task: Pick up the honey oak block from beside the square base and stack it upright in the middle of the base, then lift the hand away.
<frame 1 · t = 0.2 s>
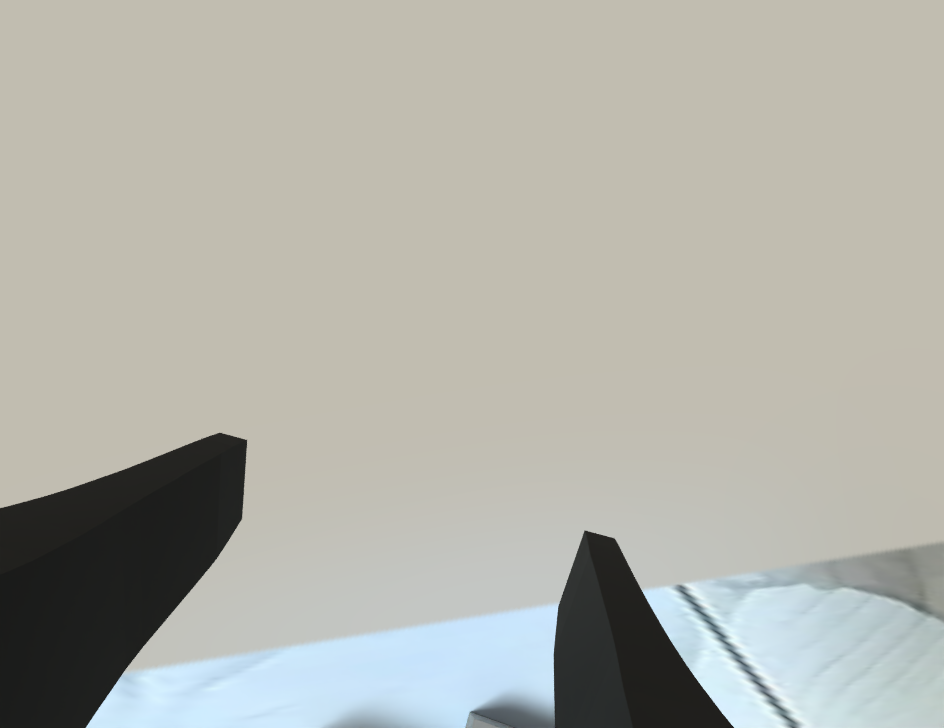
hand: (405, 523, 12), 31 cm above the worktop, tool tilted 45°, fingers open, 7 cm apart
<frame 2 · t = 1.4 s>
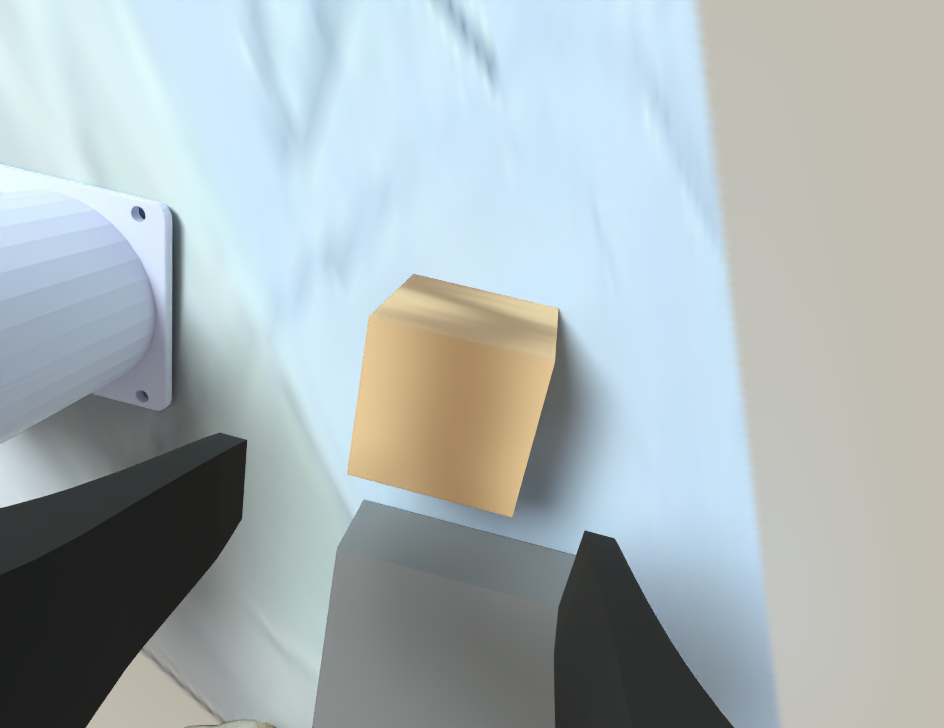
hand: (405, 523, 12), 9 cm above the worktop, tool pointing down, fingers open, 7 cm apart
oak block: (471, 357, 21), on the worktop
base: (461, 624, 26), on the worktop
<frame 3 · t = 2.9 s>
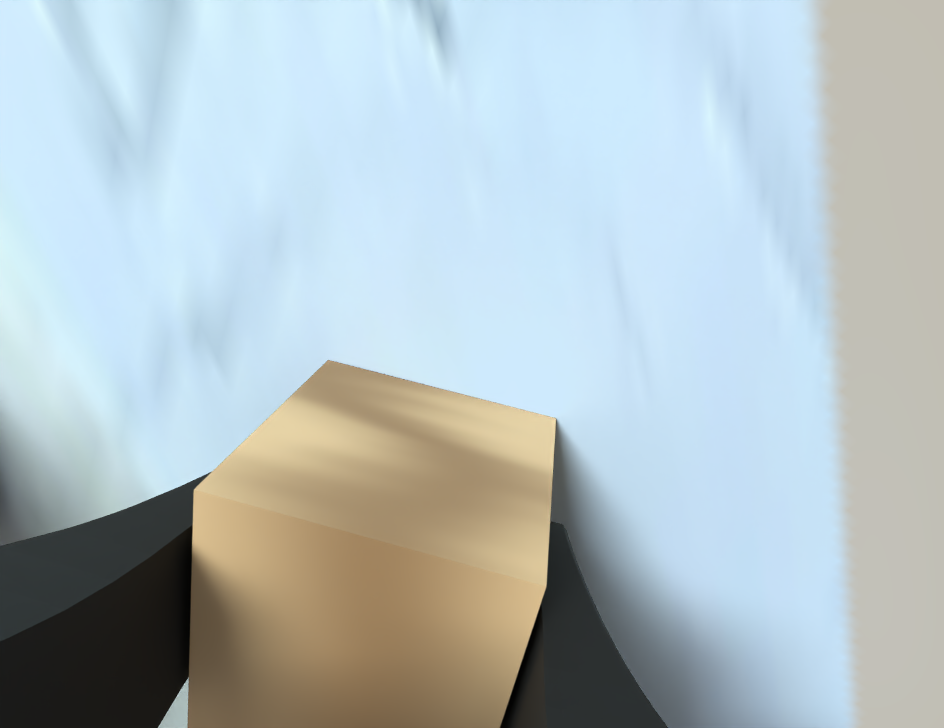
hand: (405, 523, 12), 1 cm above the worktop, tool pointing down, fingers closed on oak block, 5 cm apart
oak block: (420, 485, 14), on the worktop, touching gripper
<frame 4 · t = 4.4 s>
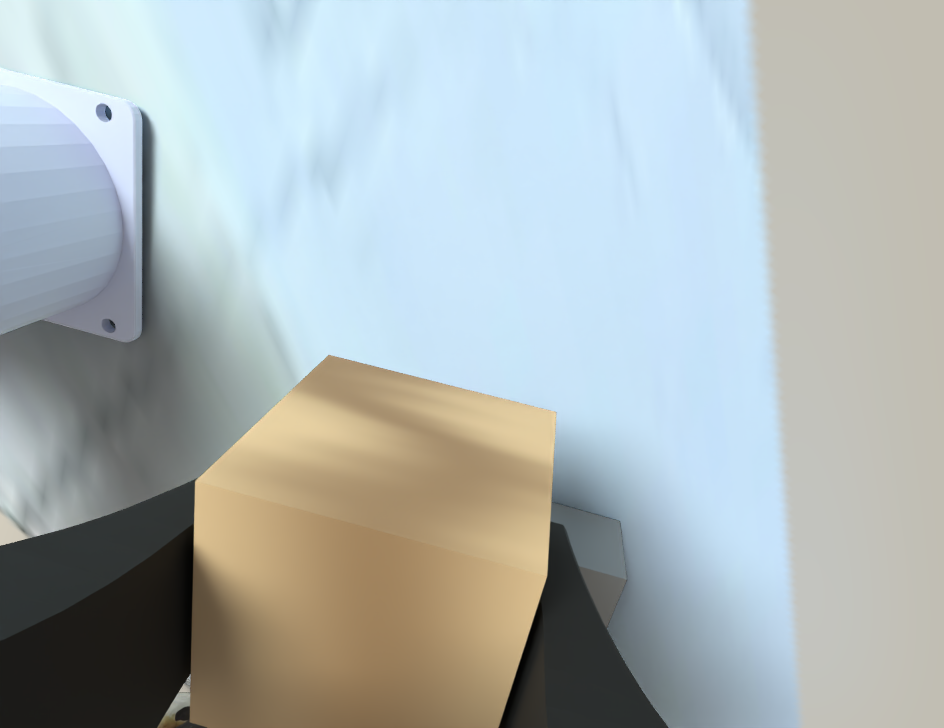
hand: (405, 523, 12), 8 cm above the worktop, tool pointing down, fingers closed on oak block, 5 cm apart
oak block: (421, 480, 14), point 7 cm above the worktop, touching gripper
base: (455, 587, 24), on the worktop
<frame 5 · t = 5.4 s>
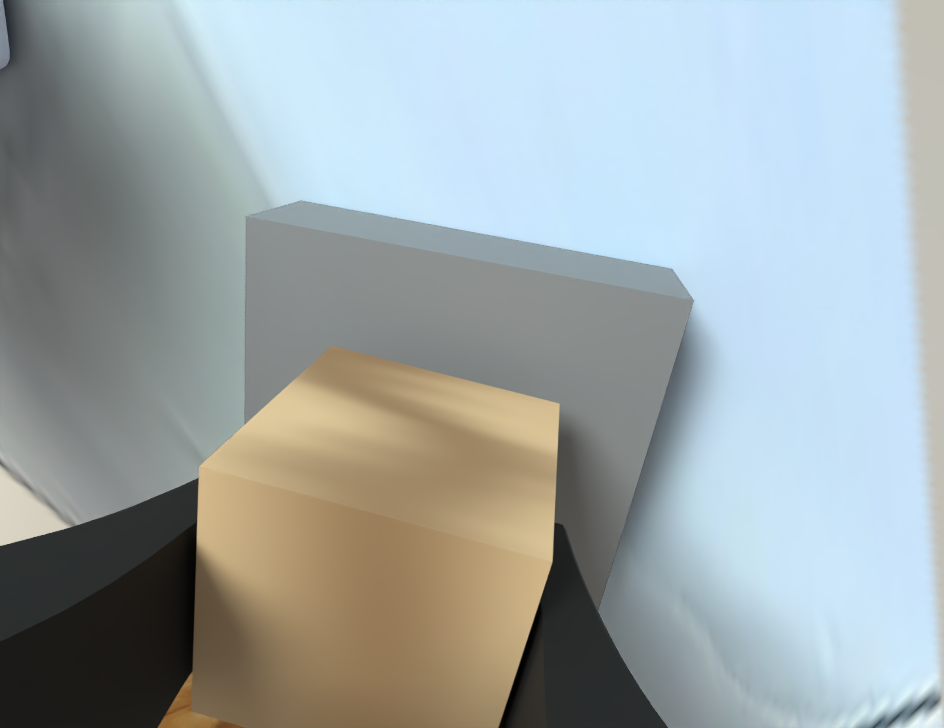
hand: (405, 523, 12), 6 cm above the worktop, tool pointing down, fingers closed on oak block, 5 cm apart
oak block: (424, 472, 14), point 4 cm above the worktop, touching gripper
base: (455, 401, 18), on the worktop
pastry: (214, 646, 24), on the worktop
when the fingers open (5 cm above the worktop, at t = 6.0 s): oak block stays where it is, resting on base.
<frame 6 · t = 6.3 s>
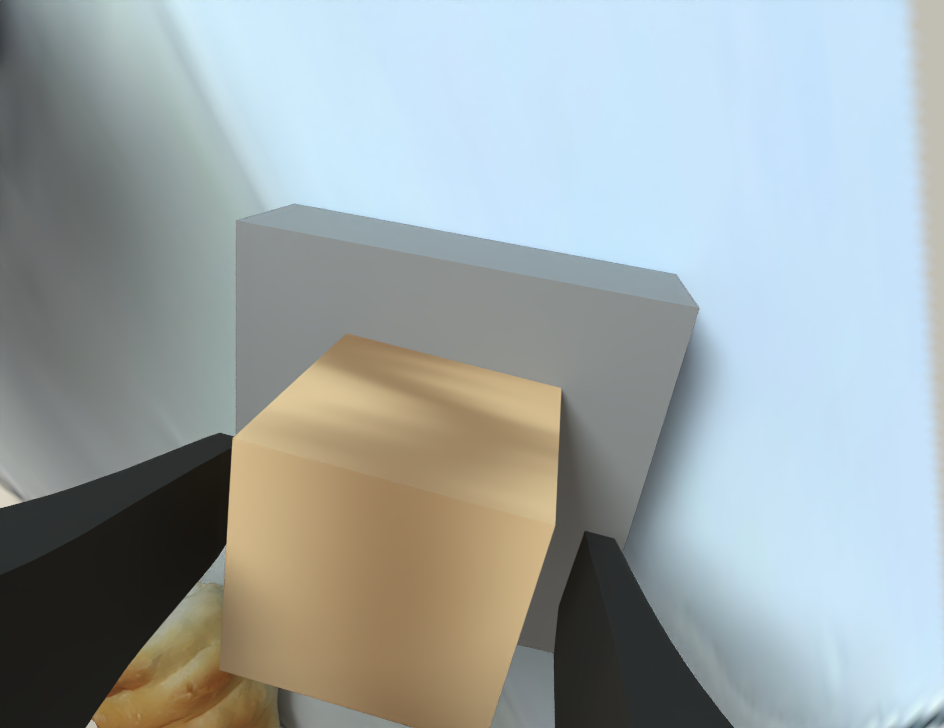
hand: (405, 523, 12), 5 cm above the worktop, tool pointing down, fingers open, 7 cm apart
oak block: (432, 453, 15), point 3 cm above the worktop, touching base
base: (452, 409, 17), on the worktop
pastry: (212, 654, 23), on the worktop
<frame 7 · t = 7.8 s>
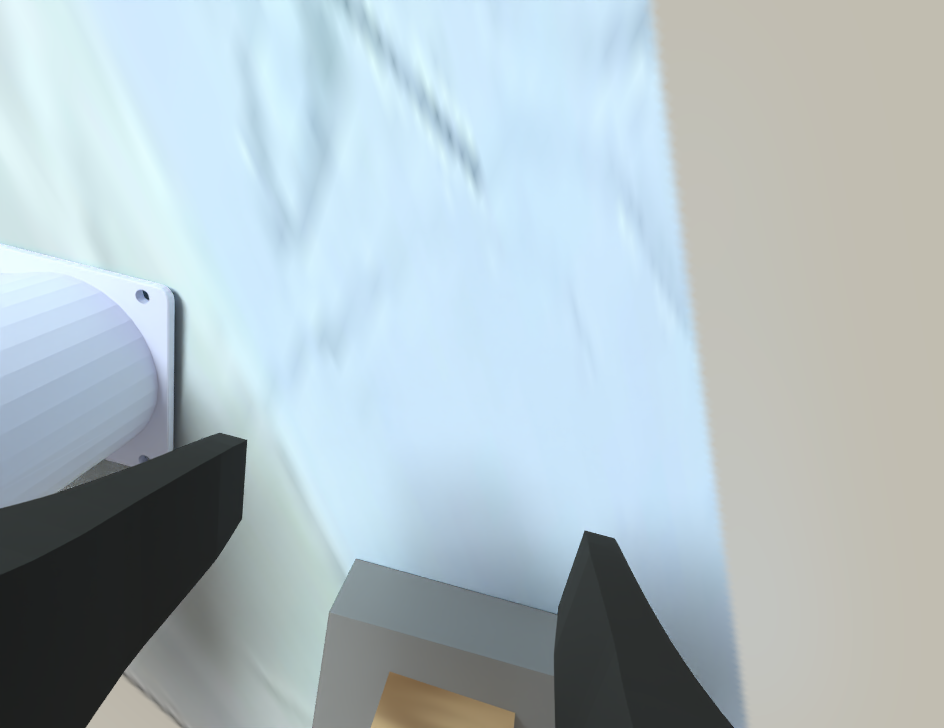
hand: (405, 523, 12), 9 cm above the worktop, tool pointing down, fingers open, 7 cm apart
base: (449, 675, 27), on the worktop
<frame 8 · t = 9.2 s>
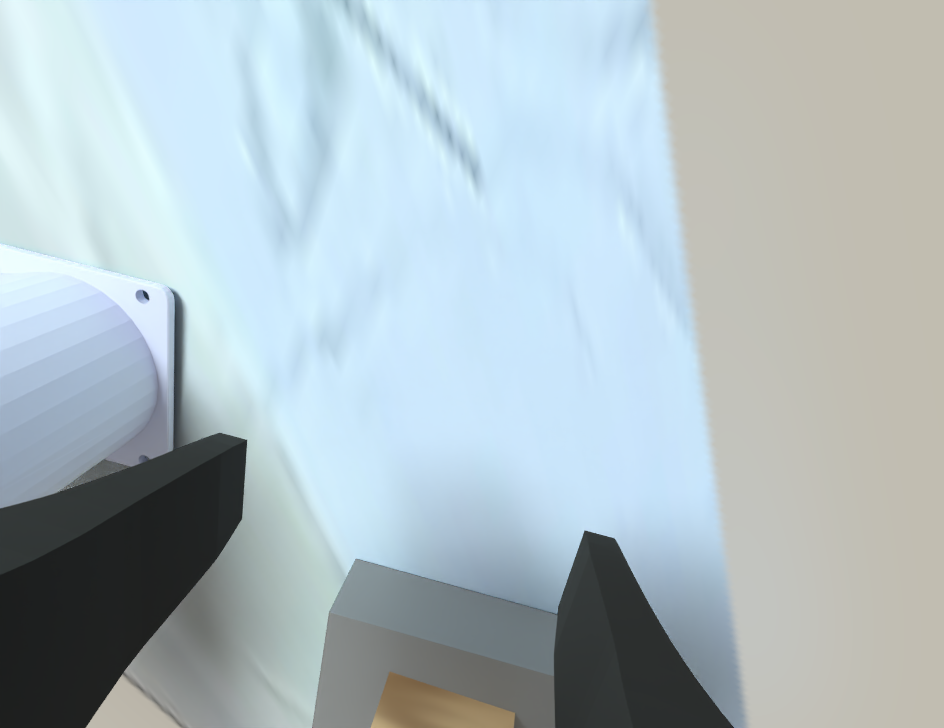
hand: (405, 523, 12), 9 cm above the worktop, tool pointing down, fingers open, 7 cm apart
base: (449, 675, 27), on the worktop
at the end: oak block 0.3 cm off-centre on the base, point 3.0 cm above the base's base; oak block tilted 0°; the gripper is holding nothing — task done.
